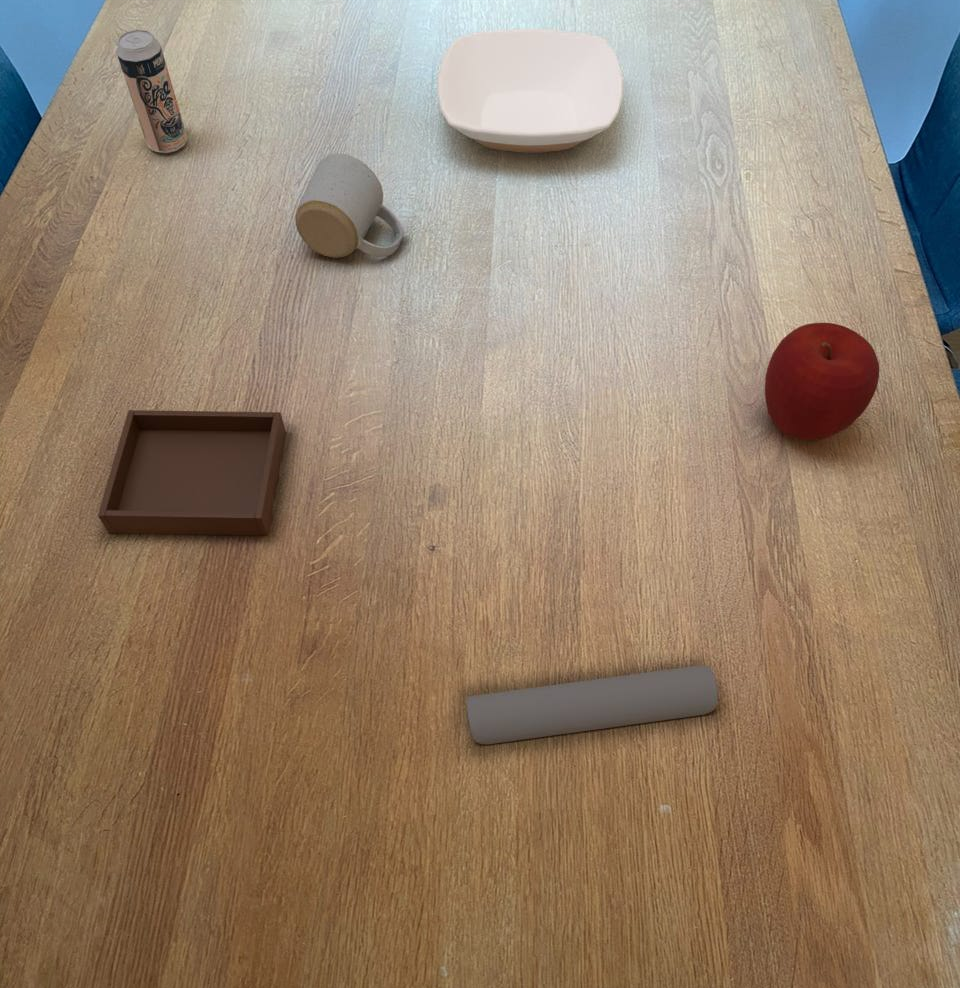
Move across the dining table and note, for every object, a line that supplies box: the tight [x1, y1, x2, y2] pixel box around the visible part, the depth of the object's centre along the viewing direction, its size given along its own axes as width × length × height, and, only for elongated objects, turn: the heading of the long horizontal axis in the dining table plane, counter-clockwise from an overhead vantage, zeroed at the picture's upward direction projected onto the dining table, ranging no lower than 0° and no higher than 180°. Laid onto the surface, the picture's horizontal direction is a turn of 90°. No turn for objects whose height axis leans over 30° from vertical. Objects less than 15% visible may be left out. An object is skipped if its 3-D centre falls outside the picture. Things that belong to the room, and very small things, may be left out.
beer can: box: [115, 29, 188, 154], centre depth 107 cm, size 5×5×12 cm
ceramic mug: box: [294, 153, 404, 258], centre depth 100 cm, size 11×8×8 cm
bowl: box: [437, 28, 624, 154], centre depth 112 cm, size 22×22×5 cm
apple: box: [764, 322, 880, 441], centre depth 85 cm, size 10×10×10 cm
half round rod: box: [465, 664, 719, 745], centre depth 73 cm, size 4×20×2 cm, turn 98°
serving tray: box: [97, 409, 287, 537], centre depth 85 cm, size 14×12×3 cm
